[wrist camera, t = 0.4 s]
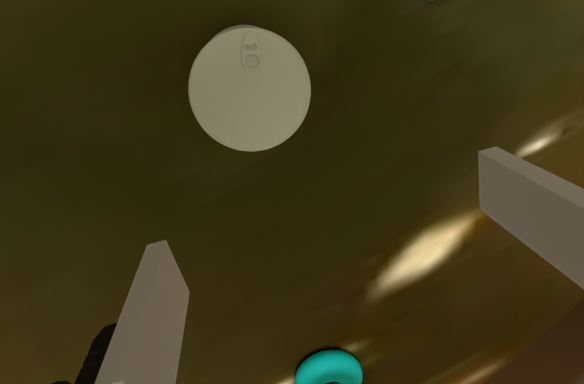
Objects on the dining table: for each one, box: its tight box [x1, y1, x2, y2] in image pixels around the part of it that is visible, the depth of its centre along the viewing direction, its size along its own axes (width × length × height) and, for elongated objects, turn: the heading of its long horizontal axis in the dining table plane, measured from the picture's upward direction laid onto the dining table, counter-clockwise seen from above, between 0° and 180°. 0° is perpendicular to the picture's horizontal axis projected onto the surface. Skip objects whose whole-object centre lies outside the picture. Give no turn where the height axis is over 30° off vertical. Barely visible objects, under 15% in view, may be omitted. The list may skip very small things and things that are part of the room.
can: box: [188, 25, 311, 151], centre depth 34 cm, size 9×9×12 cm
